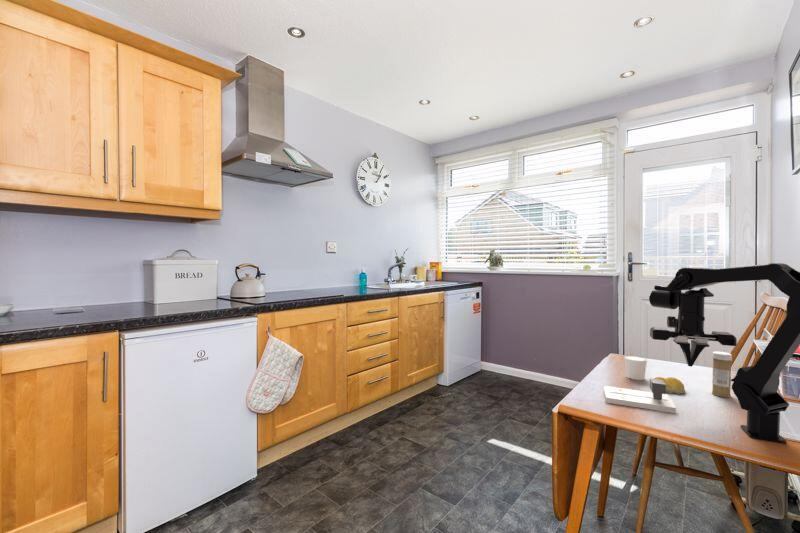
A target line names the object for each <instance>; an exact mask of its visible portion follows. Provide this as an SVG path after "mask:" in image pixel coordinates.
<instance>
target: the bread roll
mask: <svg viewBox="0 0 800 533" xmlns="http://www.w3.org/2000/svg"><path fill="white" fill-rule="evenodd" d="M653 379H658V380H663V381H664V383H665V384H666V393H667V394H684V393H686V389H685V384H684V383H683V382H682V381H681V380H680V379H678V378H676V377H666V378H665V377H662V376H656V377H654V378H653Z"/></svg>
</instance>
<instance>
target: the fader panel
mask: <svg viewBox="0 0 800 533" xmlns="http://www.w3.org/2000/svg"><path fill="white" fill-rule="evenodd" d="M603 393H604V398H605V403H607V404H615V405H620V406H621V405H622V406H627V407H633V408H639V409H640V408H641V409H645V410H646V409H647V410H653V411H659V412H664V413H672V414H677V407H676V406H675V404H674V402H673V401H672V399H671V398H670V396H669V395H668V393H667V394H662V399H656V398H653V392H652V391H644V390H643V391H642V390H638V389H637V390H636V389H629V388H623V387H615V386H609V385H604V386H603Z"/></svg>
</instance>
